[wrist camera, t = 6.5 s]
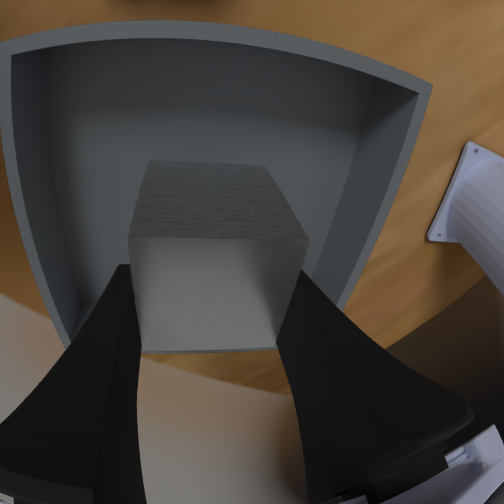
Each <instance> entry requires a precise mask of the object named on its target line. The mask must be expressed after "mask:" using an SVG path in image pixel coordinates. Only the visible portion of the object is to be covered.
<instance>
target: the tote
mask: <svg viewBox="0 0 504 504" xmlns="http://www.w3.org/2000/svg"><path fill="white" fill-rule="evenodd" d="M432 87H433V85H432V84H430V83H428V82H426V81H424V80H422V79H420V78H418V77H415V76H413V75H411V74H409V73H406V72H404V71H402V70H399V69H397V68H395V67H392V66H390V65H387V64H385V63H382V62H379V61H377V60H374V59H371V58H369V57H366V56H363V55H360V54H357V53H354V52H351V51H348V50H345V49H342V48H338V47H335V46H332V45H328V44H325V43H321V42H317V41H313V40H309V39H305V38H301V37H297V36H293V35H288V34H283V33H279V32H273V31H268V30H263V29H257V28H250V27H244V26H236V25H228V24H219V23H209V22H196V21H175V20H137V21H117V22H104V23H94V24H85V25H78V26H71V27H65V28H59V29H53V30H48V31H43V32H38V33H34V34H30V35H25V36H21V37H17V38H14V39H10V40H7V41H3V42H0V129H1V138H2V146H3V154H4V161H5V167H6V173H7V178H8V184H9V189H10V193H11V198H12V203H13V207H14V211H15V215H16V219H17V223H18V227H19V230H20V234H21V237H22V241H23V244H24V247H25V251H26V254H27V257H28V260H29V263H30V266H31V269H32V272H33V275H34V277H35V280H36V283H37V285H38V288H39V291H40V293H41V296H42V298H43V301H44V303H45V306H46V308H47V310H48V313H49V315H50V317H51V320H52V322H53V324H54V326H55V329H56V331H57V333H58V335H59V337H60V339H61V341H62V343H63V345H64V347H65V349H67V347H68V346H69V345H70V343H71V342H72V340H73V339H74V337H75V336H76V334H77V333H78V331H79V330H80V328H81V327H82V325H83V324H84V322H85V321H86V319H87V318H88V316H89V315H90V313H91V311H92V310H93V308H94V306H95V305H96V303H97V302H98V300H99V298H100V297H101V295H102V293H103V291H104V290H105V288H106V286H107V285H108V283H109V281H110V279H111V277H112V275H113V274H114V272H115V270H116V268H117V266H118V265H119V264H130V259H129V249H128V233H129V229H130V225H131V221H132V217H133V213H134V209H135V206H136V202H137V198H138V195H139V191H140V188H141V184H142V181H143V177H144V174H145V171H146V167H147V164H148V161H149V160H153V161H189V162H211V163H227V164H242V165H254V166H266V167H267V168H268V170H269V172H270V173H271V175H272V177H273V178H274V180H275V182H276V183H277V185H278V187H279V188H280V190H281V192H282V193H283V195H284V197H285V198H286V200H287V202H288V203H289V205H290V207H291V209H292V210H293V212H294V214H295V215H296V217H297V219H298V221H299V222H300V224H301V226H302V228H303V229H304V231H305V233H306V235H307V236H308V238H309V240H310V244H309V247H308V250H307V253H306V256H305V259H304V262H303V265H302V268H301V269H302V270H303V271H304V272H305V273H306V274H307V275H308V277H309V278H310V279H311V280H312V281H313V282H314V283H315V284H316V285H317V286H318V287H319V288H320V289H321V291H322V292H323V293H324V294H325V295H326V296H327V297H328V298H329V299H330V300H331V301H332V302H333V303H334V304H335V305H336V306H337V307H338V308H339V309H340V310H341V311H342V310H343V309H344V307H345V305H346V303H347V301H348V299H349V297H350V295H351V293H352V291H353V289H354V287H355V285H356V283H357V281H358V279H359V277H360V275H361V273H362V271H363V269H364V267H365V265H366V262H367V260H368V258H369V256H370V254H371V252H372V250H373V247H374V245H375V243H376V241H377V239H378V236H379V234H380V232H381V229H382V227H383V225H384V223H385V220H386V218H387V215H388V213H389V211H390V208H391V206H392V203H393V201H394V198H395V196H396V193H397V191H398V188H399V186H400V183H401V181H402V178H403V175H404V173H405V170H406V167H407V165H408V162H409V159H410V156H411V154H412V151H413V148H414V145H415V142H416V139H417V136H418V133H419V130H420V127H421V124H422V121H423V117H424V114H425V111H426V108H427V104H428V101H429V97H430V94H431V90H432ZM272 349H278V347H277V344H276V343H275V345H274V346H273V347H260V348H243V349H222V350H183V351H155V350H143V348H141V353H219V352H241V351H258V350H272Z"/></svg>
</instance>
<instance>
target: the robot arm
mask: <svg viewBox="0 0 504 504" xmlns="http://www.w3.org/2000/svg"><path fill="white" fill-rule="evenodd" d="M427 238H428V239H429V240H430V241H439V242H455V243H460V244H461V246H462V247H463V248H464V249H465V250H466V251H467V252H468V253H469V254H470V256H471V257H472V258H473V259H474V260H475V261H476V262H477V264H478V265H479V266H480V267H481V268H482V269H483V271H484V272H485V273H486V274H487V275H488V277H489V278H490V279H491V280H492V281H493V283H494V284H495V285H496V286H497V288H498V289H499V290H500V291H501V293H502V294H503V295H504V158H503V157H501V156H499V155H497V154H495V153H493V152H491V151H489V150H487V149H485V148H483V147H481V146H479V145H477V144H475V143H473V142H470V141H469V142H467V143H466V145H465V147H464V150H463V152H462V155H461V158H460V160H459V163H458V165H457V168H456V170H455V173H454V175H453V178H452V180H451V183H450V185H449V187H448V190H447V192H446V194H445V197H444V199H443V201H442V203H441V205H440V208H439V210H438V212H437V214H436V216H435V218H434V220H433V222H432V225H431V227H430V229H429V231H428V233H427ZM276 344H277V347H278V350H279V353H280V356H281V360H282V363H283V366H284V369H285V372H286V375H287V378H288V381H289V384H290V387H291V391H292V394H293V398H294V403H295V408H296V412H297V418H298V423H299V429H300V435H301V440H302V447H303V454H304V461H305V470H306V480H307V493H308V498H309V501H310V504H317V503H321V502H324V501H328V500H331V499H334V498H338V497H341V496H342V498H343V501H344V502H342V503H339V504H484V502H485V501H486V500H487V499H488V498H489V496H490V495H491V494H492V493H493V492H494V491H495V490H496V488H498V487H499V485H500V484H501V483H502V482H503V481H504V445H503V442H502V441H501V438H500V436H499V433H498V431H497V429H496V427H495V425H492V426H490V427H489V428H487V429H486V430H485V431H483V432H482V433H480V434H479V435H477V436H476V437H474V438H473V439H471V440H470V441H468V442H467V443H465V444H463V445H461V446H460V447H458V448H456V449H455V450H453V451H451V452H450V453H448V454H446V455H445V456H444V454H443V450H445V449H446V447H447V446H446V443H445V441H444V440H445V439H446V438H448V437H450V436H451V435H453V434H454V433H456V432H457V431H459V430H460V429H462V428H463V427H464V426H466V425H467V424H468V423H470V422H471V421H472V420H473V418H474V416H473V414H472V412H471V410H470V408H469V406H468V404H467V402H466V400H465V398H464V396H463V395H461V394H458V393H456V392H454V391H452V390H450V389H448V388H446V387H443V386H441V385H439V384H437V383H435V382H434V381H432V380H430V379H428V378H426V377H424V376H423V375H421V374H419V373H418V372H416V371H415V370H413V369H411V368H410V367H408V366H407V365H405V364H404V363H402V362H401V361H400V360H398V359H397V358H395V357H394V356H392V355H391V354H390V353H388V352H387V351H386V350H384V349H383V348H382V347H381V346H380V345H378V344H377V343H376V342H375V341H373V340H372V339H371V338H370V337H368V336H367V335H366V334H365V333H364V332H363V331H362V330H361V329H359V328H358V327H357V326H356V325H355V324H354V323H353V322H352V321H351V320H350V319H349V318H348V317H347V316H346V315H345V314H344V313H343V312H342V311H341V310H340V309H339V308H338V307H337V306H336V305H335V304H334V303H333V302H332V301H331V300H330V299H329V298H328V297H327V296H326V295H325V294H324V293H323V292H322V291H321V289H320V288H319V287H318V286H317V285H316V284H315V283H314V282H313V281H312V280H311V279H310V278H309V277H308V275H307V274H306V273H305V272H304V271H303V270H302V269H301V271H300V274H299V277H298V280H297V283H296V286H295V289H294V292H293V295H292V298H291V301H290V303H289V306H288V309H287V312H286V315H285V318H284V320H283V323H282V326H281V329H280V332H279V334H278V337H277V340H276ZM141 348H142V343H141V337H140V331H139V326H138V319H137V313H136V307H135V300H134V292H133V285H132V277H131V268H130V264H119V265H118V266H117V268H116V270H115V272H114V274H113V275H112V277H111V279H110V281H109V283H108V285H107V286H106V288H105V290H104V291H103V293H102V295H101V297H100V298H99V300H98V302H97V303H96V305H95V306H94V308H93V310H92V311H91V313H90V315H89V316H88V318H87V319H86V321H85V322H84V324H83V325H82V327H81V328H80V330H79V331H78V333H77V334H76V336H75V337H74V339H73V340H72V342H71V343H70V345H69V346H68V347H67V349H66V350H65V352H64V353H63V354H62V356H61V357H60V358H59V360H58V361H57V362H56V363H55V365H54V366H53V367H52V368H51V370H50V371H49V372H48V373H47V375H46V376H45V377H44V378H43V380H42V381H41V382H40V383H39V384H38V386H37V387H36V388H35V389H34V390H33V391H32V392H31V393H30V394H29V395H28V396H27V397H26V398H25V400H24V401H23V402H22V403H21V404H20V405H19V406H18V407H17V408H16V409H15V410H14V411H13V412H12V413H11V414H10V415H9V416H8V417H7V418H6V419H5V420H4V421H3V422H2V423H1V424H0V493H2V494H5V495H8V496H10V497H13V498H14V504H147V502H146V497H145V491H144V485H143V477H142V470H141V462H140V452H139V442H138V441H139V440H138V425H137V388H138V377H139V366H140V357H141ZM0 504H9V503H6V502H4V501H3V500H1V499H0Z"/></svg>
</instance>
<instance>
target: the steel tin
mask: <svg viewBox="0 0 504 504" xmlns="http://www.w3.org/2000/svg"><path fill="white" fill-rule="evenodd" d="M309 244H310V240H309V238H308V236H307V235H306V233H305V231H304V229H303V228H302V226H301V224H300V222H299V221H298V219H297V217H296V215H295V214H294V212H293V210H292V209H291V207H290V205H289V203H288V202H287V200H286V198H285V197H284V195H283V193H282V192H281V190H280V188H279V187H278V185H277V183H276V182H275V180H274V178H273V177H272V175H271V173H270V172H269V170H268V168H267V167H266V166H254V165H242V164H227V163H211V162H189V161H153V160H149V161H148V164H147V167H146V171H145V174H144V177H143V181H142V184H141V188H140V191H139V195H138V198H137V202H136V206H135V209H134V213H133V217H132V221H131V225H130V229H129V233H128V249H129V259H130V268H131V277H132V285H133V292H134V300H135V307H136V313H137V319H138V326H139V331H140V337H141V343H142V348H143V350H155V351H183V350H222V349H243V348H260V347H273V346H274V345H275V343H276V340H277V337H278V334H279V332H280V329H281V326H282V323H283V320H284V318H285V315H286V312H287V309H288V306H289V303H290V301H291V298H292V295H293V292H294V289H295V286H296V283H297V280H298V277H299V274H300V271H301V268H302V265H303V262H304V259H305V256H306V253H307V250H308V247H309Z"/></svg>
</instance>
